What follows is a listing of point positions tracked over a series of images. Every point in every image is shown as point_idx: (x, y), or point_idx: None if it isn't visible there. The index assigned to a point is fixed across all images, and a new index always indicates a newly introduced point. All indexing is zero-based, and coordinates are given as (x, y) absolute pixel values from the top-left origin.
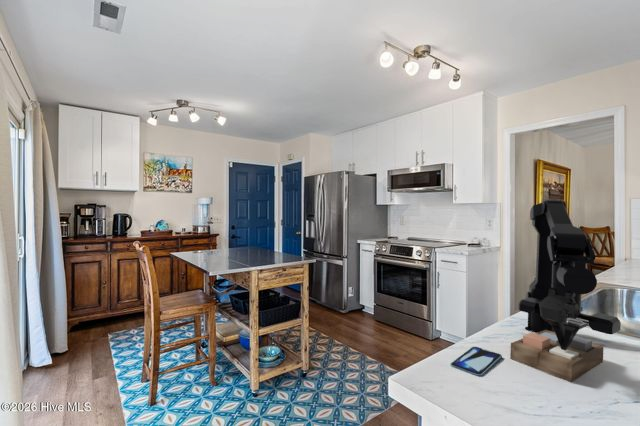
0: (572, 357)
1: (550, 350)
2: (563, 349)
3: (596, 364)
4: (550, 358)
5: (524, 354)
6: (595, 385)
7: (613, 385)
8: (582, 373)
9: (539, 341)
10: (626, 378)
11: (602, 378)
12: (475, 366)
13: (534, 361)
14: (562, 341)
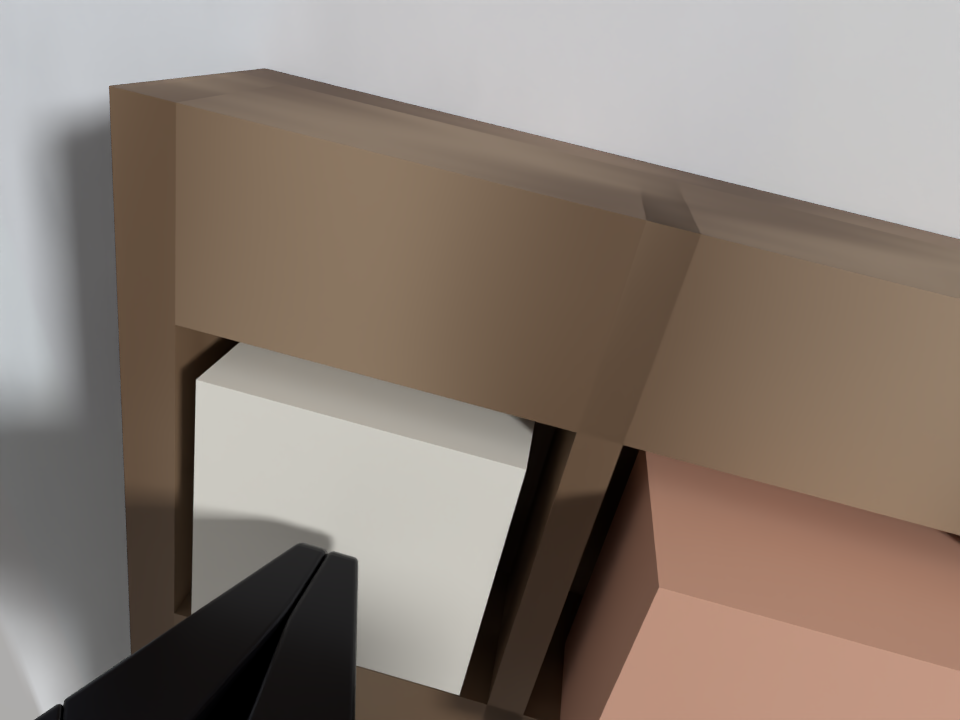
0: (202, 419)
1: (507, 462)
2: (319, 547)
3: None
4: (464, 168)
5: (910, 254)
6: (92, 220)
7: (12, 355)
8: None
9: (710, 587)
10: (22, 573)
11: (119, 447)
12: None
13: (723, 197)
14: (270, 659)
